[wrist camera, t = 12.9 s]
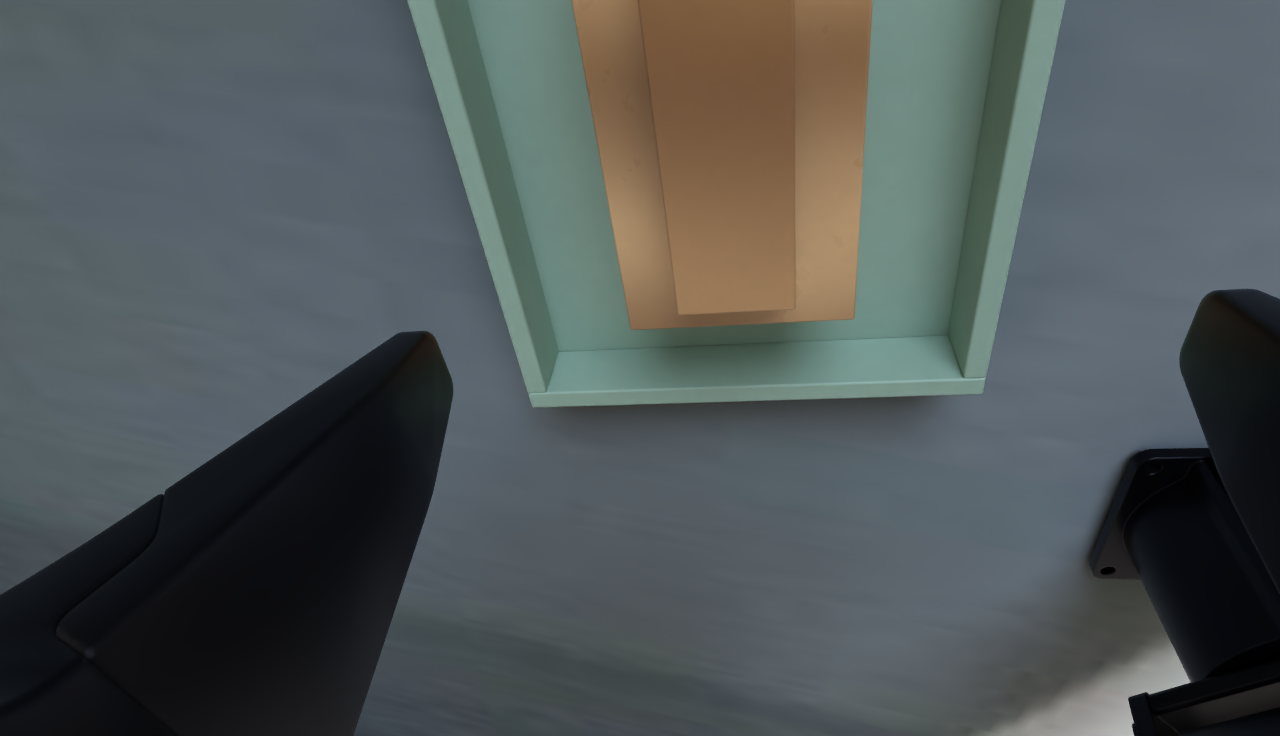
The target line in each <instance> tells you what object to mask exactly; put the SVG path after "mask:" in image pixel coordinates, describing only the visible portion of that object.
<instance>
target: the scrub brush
mask: <svg viewBox="0 0 1280 736" xmlns="http://www.w3.org/2000/svg"><path fill="white" fill-rule="evenodd" d="M571 2H572V7H573V13H574V18H575V24H576V30H577V35H578V41H579V46H580V52H581V57H582V63H583V68H584V74H585V79H586V85H587V91H588V96H589V102H590V107H591V113H592V118H593V124H594V129H595V135H596V141H597V146H598V152H599V157H600V163H601V168H602V174H603V179H604V185H605V190H606V196H607V202H608V207H609V213H610V218H611V224H612V229H613V235H614V240H615V246H616V252H617V257H618V263H619V268H620V274H621V279H622V285H623V290H624V296H625V301H626V307H627V313H628V318H629V324H630V328H631V330H646V329H667V328H688V327H709V326H729V325H750V324H771V323H791V322H812V321H833V320H852V319H854V317H855V302H856V285H857V267H858V250H859V232H860V215H861V197H862V180H863V163H864V145H865V128H866V110H867V93H868V75H869V58H870V40H871V23H872V5H873V0H571Z"/></svg>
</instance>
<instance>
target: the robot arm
mask: <svg viewBox="0 0 1280 736" xmlns="http://www.w3.org/2000/svg"><path fill="white" fill-rule="evenodd" d="M1180 369H1181V373H1182V376H1183V379H1184V381H1185V384H1186V387H1187V390H1188V392H1189V395H1190V398H1191V400H1192V403H1193V406H1194V408H1195V411H1196V414H1197V417H1198V419H1199V422H1200V425H1201V427H1202V430H1203V433H1204V436H1205V438H1206V441H1207V444H1208V446H1209V448H1186V449H1149V450H1144V451H1142V452H1139V453H1137V454H1136V455H1135V456H1133V458H1132V459H1131V461H1130V463H1129V466H1128V468H1127V471H1126V473H1125V476H1124V478H1123V480H1122V483H1121V485H1120V488H1119V490H1118V493H1117V495H1116V498H1115V500H1114V502H1113V505H1112V507H1111V510H1110V512H1109V515H1108V517H1107V519H1106V522H1105V524H1104V527H1103V529H1102V532H1101V534H1100V536H1099V539H1098V541H1097V544H1096V546H1095V549H1094V551H1093V553H1092V556H1091V558H1090V561H1089V566H1090V568H1091V570H1092V573H1093V574H1094V576H1095V577H1098V578H1102V579H1141V581H1142V583H1143V585H1144V587H1145V589H1146V591H1147V593H1148V595H1149V597H1150V599H1151V601H1152V603H1153V605H1154V607H1155V610H1156V612H1157V614H1158V616H1159V618H1160V620H1161V622H1162V624H1163V626H1164V628H1165V630H1166V632H1167V634H1168V636H1169V638H1170V641H1171V643H1172V645H1173V647H1174V649H1175V651H1176V653H1177V655H1178V657H1179V659H1180V661H1181V663H1182V665H1183V667H1184V669H1185V672H1186V674H1187V676H1188V678H1189V680H1190V682H1191V683H1188V684H1185V685H1181V686H1178V687H1175V688H1171V689H1168V690H1164V691H1161V692H1157V693H1154V694H1150V695H1149V694H1148V693H1146V692H1145V693H1142V694H1138V695H1135V696H1132V697H1129V698H1128V701H1129V705H1130V708H1131V712H1132V716H1133V720H1134V724H1132V728H1133V732H1134V736H1280V299H1278V298H1276V297H1273V296H1271V295H1269V294H1266V293H1264V292H1261V291H1259V290H1255V289H1234V290H1216V291H1213V292H1210V293H1208V294H1207V295H1206V296H1205V297H1204V298H1203V299H1202V301H1201V303H1200V304H1199V307H1198V309H1197V312H1196V314H1195V316H1194V319H1193V321H1192V324H1191V326H1190V329H1189V331H1188V334H1187V336H1186V338H1185V341H1184V343H1183V346H1182V348H1181V352H1180ZM452 398H453V383H452V379H451V376H450V373H449V371H448V368H447V366H446V363H445V361H444V358H443V355H442V353H441V350H440V348H439V345H438V343H437V340H436V339H435V337H434V336H433V334H431V333H430V332H428V331H414V332H401V333H398V334H396V335H395V336H393V337H392V338H390V339H389V340H387V341H386V342H384V343H383V344H381V345H380V346H378V347H377V348H375V349H374V350H372V351H371V352H369V353H368V354H366V355H365V356H363V357H362V358H361V359H359V360H358V361H356V362H355V363H353V364H352V365H350V366H349V367H347V368H346V369H344V370H343V371H341V372H340V373H338V374H337V375H335V376H334V377H332V378H331V379H329V380H328V381H326V382H325V383H323V384H322V385H320V386H319V387H318V388H316V389H315V390H313V391H312V392H310V393H309V394H307V395H306V396H304V397H303V398H301V399H300V400H298V401H297V402H295V403H294V404H292V405H291V406H289V407H288V408H286V409H285V410H283V411H282V412H280V413H279V414H277V415H276V416H275V417H273V418H272V419H270V420H269V421H267V422H266V423H264V424H263V425H261V426H260V427H258V428H257V429H255V430H254V431H252V432H251V433H249V434H248V435H246V436H245V437H243V438H242V439H240V440H239V441H237V442H236V443H234V444H233V445H232V446H230V447H229V448H227V449H226V450H224V451H223V452H221V453H220V454H218V455H217V456H215V457H214V458H212V459H211V460H209V461H208V462H206V463H205V464H203V465H202V466H200V467H199V468H197V469H196V470H194V471H193V472H191V473H190V474H189V475H187V476H186V477H184V478H183V479H181V480H180V481H178V482H177V483H175V484H174V485H172V486H171V487H169V488H168V489H166V491H165V494H164V495H163V494H159V495H157V496H156V497H154V498H153V499H151V500H150V501H148V502H147V503H145V504H144V505H142V506H141V507H139V508H138V509H136V510H135V511H133V512H132V513H131V514H129V515H127V516H126V517H124V518H123V519H121V520H120V521H118V522H117V523H115V524H114V525H112V526H111V527H109V528H108V529H106V530H105V531H103V532H101V533H100V534H98V535H97V536H95V537H94V538H92V539H91V540H89V541H88V542H86V543H85V544H83V545H81V546H80V547H78V548H77V549H75V550H73V551H72V552H70V553H68V554H67V555H65V556H64V557H62V558H60V559H59V560H57V561H55V562H54V563H52V564H51V565H49V566H47V567H46V568H44V569H42V570H41V571H39V572H38V573H36V574H34V575H33V576H31V577H29V578H28V579H26V580H24V581H23V582H21V583H19V584H18V585H16V586H14V587H13V588H11V589H9V590H8V591H6V592H4V593H3V594H1V595H0V736H353V735H354V732H355V729H356V726H357V723H358V720H359V717H360V714H361V711H362V708H363V705H364V702H365V699H366V696H367V692H368V689H369V686H370V683H371V680H372V677H373V674H374V671H375V668H376V665H377V662H378V659H379V656H380V653H381V650H382V647H383V644H384V641H385V638H386V635H387V632H388V629H389V626H390V623H391V620H392V617H393V614H394V611H395V608H396V605H397V602H398V599H399V596H400V593H401V590H402V586H403V583H404V580H405V577H406V574H407V571H408V568H409V565H410V562H411V559H412V556H413V553H414V550H415V547H416V544H417V541H418V538H419V535H420V532H421V529H422V526H423V523H424V520H425V517H426V514H427V511H428V507H429V504H430V501H431V497H432V494H433V490H434V486H435V481H436V477H437V472H438V467H439V462H440V457H441V452H442V448H443V443H444V438H445V433H446V428H447V423H448V418H449V413H450V408H451V403H452Z"/></svg>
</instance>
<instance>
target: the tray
mask: <svg viewBox="0 0 1280 736" xmlns="http://www.w3.org/2000/svg"><path fill="white" fill-rule="evenodd" d="M1065 1H1066V0H873V5H872V23H871V40H870V58H869V75H868V93H867V110H866V128H865V145H864V163H863V180H862V197H861V215H860V232H859V250H858V267H857V285H856V302H855V317H854V319H852V320H833V321H812V322H791V323H771V324H750V325H729V326H709V327H688V328H667V329H646V330H631V328H630V324H629V318H628V313H627V307H626V301H625V296H624V290H623V285H622V279H621V274H620V268H619V263H618V257H617V252H616V246H615V240H614V235H613V229H612V224H611V218H610V213H609V207H608V202H607V196H606V190H605V185H604V179H603V174H602V168H601V163H600V157H599V152H598V146H597V141H596V135H595V129H594V124H593V118H592V113H591V107H590V102H589V96H588V91H587V85H586V79H585V74H584V68H583V63H582V57H581V52H580V46H579V41H578V35H577V30H576V24H575V18H574V13H573V7H572V2H571V0H407V2H408V5H409V8H410V12H411V15H412V18H413V21H414V25H415V28H416V31H417V34H418V38H419V41H420V44H421V47H422V51H423V54H424V57H425V60H426V64H427V67H428V70H429V73H430V77H431V80H432V83H433V86H434V90H435V93H436V96H437V99H438V103H439V106H440V109H441V112H442V116H443V119H444V122H445V125H446V129H447V132H448V135H449V138H450V142H451V145H452V148H453V151H454V155H455V158H456V161H457V164H458V168H459V171H460V174H461V177H462V181H463V184H464V187H465V190H466V194H467V197H468V200H469V203H470V207H471V210H472V213H473V216H474V220H475V223H476V226H477V229H478V233H479V236H480V239H481V242H482V246H483V249H484V252H485V255H486V259H487V262H488V265H489V268H490V272H491V275H492V278H493V281H494V285H495V288H496V291H497V294H498V298H499V301H500V304H501V307H502V311H503V314H504V317H505V320H506V324H507V327H508V330H509V333H510V337H511V340H512V343H513V346H514V349H515V353H516V356H517V359H518V362H519V366H520V369H521V372H522V375H523V379H524V382H525V385H526V388H527V392H529V393H528V395H529V398H530V401H531V405H532V407H534V408H538V407H571V406H605V405H638V404H672V403H706V402H739V401H773V400H806V399H840V398H873V397H907V396H940V395H974V394H982V393H983V389H984V385H985V380H986V378H985V377H986V375H987V371H988V366H989V361H990V356H991V352H992V347H993V342H994V337H995V333H996V328H997V323H998V318H999V314H1000V309H1001V304H1002V299H1003V295H1004V290H1005V285H1006V280H1007V276H1008V271H1009V266H1010V261H1011V257H1012V252H1013V247H1014V242H1015V238H1016V233H1017V228H1018V224H1019V219H1020V214H1021V209H1022V205H1023V200H1024V195H1025V190H1026V186H1027V181H1028V176H1029V171H1030V167H1031V162H1032V157H1033V152H1034V148H1035V143H1036V138H1037V133H1038V129H1039V124H1040V119H1041V114H1042V110H1043V105H1044V100H1045V95H1046V91H1047V86H1048V81H1049V76H1050V72H1051V67H1052V62H1053V58H1054V53H1055V48H1056V43H1057V39H1058V34H1059V29H1060V24H1061V20H1062V15H1063V10H1064V5H1065Z"/></svg>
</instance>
